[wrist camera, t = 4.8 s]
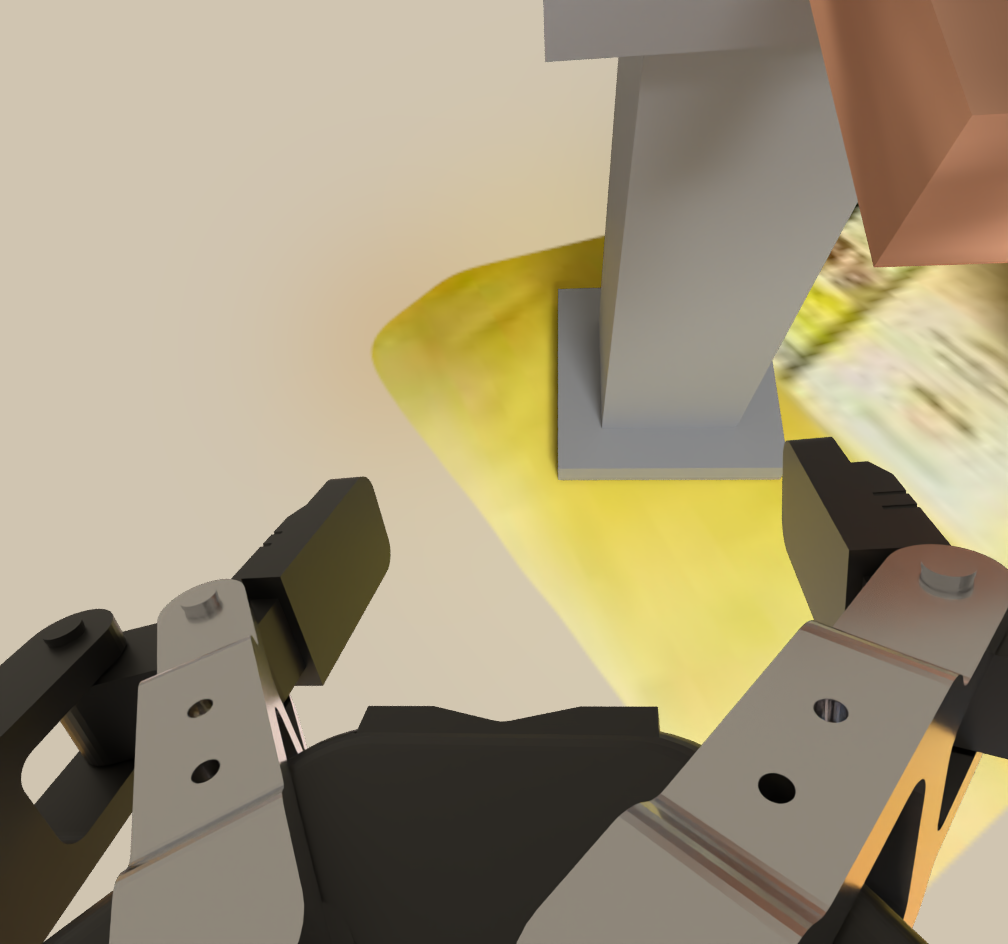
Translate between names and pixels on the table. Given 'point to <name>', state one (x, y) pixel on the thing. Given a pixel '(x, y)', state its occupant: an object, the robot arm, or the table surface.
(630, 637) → the table surface
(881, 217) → the bar
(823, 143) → the stand
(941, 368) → the table surface
